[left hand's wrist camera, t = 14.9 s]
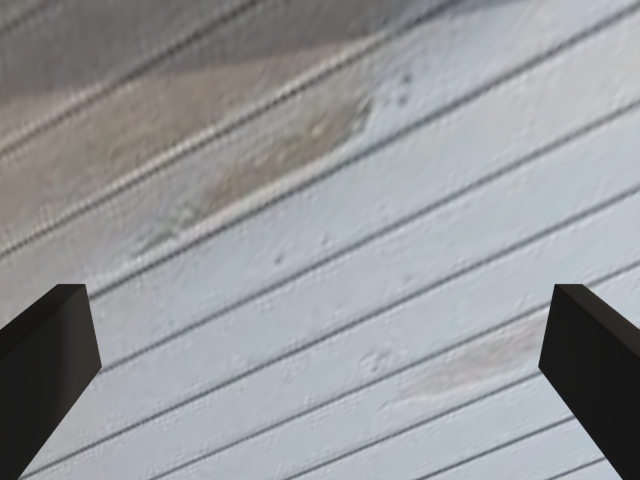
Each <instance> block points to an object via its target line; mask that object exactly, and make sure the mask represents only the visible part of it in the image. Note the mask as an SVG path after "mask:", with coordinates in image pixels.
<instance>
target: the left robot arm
mask: <svg viewBox="0 0 640 480" xmlns="http://www.w3.org/2000/svg"><path fill="white" fill-rule="evenodd" d="M101 367H102V365H101V360H100V355H99V350H98V345H97V340H96V335H95V330H94V325H93V320H92V315H91V310H90V305H89V300H88V295H87V290H86V286H85V284H57V285H56V286H55V287H53V288H52V289H51V290H50V291H48V292H47V293H46V294H45V295H43V296H42V297H41V298H40V299H38V300H37V301H36V302H35V303H33V304H32V305H31V306H30V307H28V308H27V309H26V310H25V311H23V312H22V313H21V314H19V315H18V316H17V317H16V318H14V319H13V320H12V321H11V322H9V323H8V324H7V325H6V326H4V327H3V328H2V329H1V330H0V480H18V478H19V477H20V476H21V474H22V473H23V472H24V470H25V469H26V468H27V466H28V465H29V464H30V462H31V461H32V460H33V458H34V457H35V456H36V454H37V453H38V452H39V450H40V449H41V448H42V446H43V445H44V444H45V442H46V441H47V440H48V438H49V437H50V436H51V434H52V433H53V431H54V430H55V429H56V427H57V426H58V425H59V423H60V422H61V421H62V419H63V418H64V417H65V415H66V414H67V413H68V411H69V410H70V409H71V407H72V406H73V405H74V403H75V402H76V401H77V399H78V398H79V397H80V395H81V394H82V393H83V391H84V390H85V389H86V387H87V386H88V385H89V383H90V382H91V381H92V379H93V378H94V377H95V375H96V374H97V373H98V371H99V370H100V369H101ZM538 367H539V369H540V370H541V371H542V373H543V374H544V375H545V377H546V378H547V379H548V381H549V382H550V383H551V385H552V386H553V387H554V389H555V390H556V391H557V393H558V394H559V395H560V397H561V398H562V399H563V401H564V402H565V403H566V405H567V406H568V407H569V409H570V410H571V411H572V413H573V414H574V415H575V417H576V418H577V419H578V421H579V422H580V423H581V425H582V426H583V427H584V429H585V430H586V431H587V433H588V434H589V436H590V437H591V438H592V440H593V441H594V442H595V444H596V445H597V446H598V448H599V449H600V450H601V452H602V453H603V454H604V456H605V457H606V458H607V460H608V461H609V462H610V464H611V465H612V466H613V468H614V469H615V470H616V472H617V473H618V474H619V476H620V477H621V478H622V480H640V330H639V329H638V328H637V327H636V326H634V325H633V324H632V323H631V322H629V321H628V320H627V319H626V318H624V317H623V316H622V315H621V314H619V313H618V312H617V311H615V310H614V309H613V308H612V307H610V306H609V305H608V304H607V303H605V302H604V301H603V300H602V299H600V298H599V297H598V296H597V295H595V294H594V293H593V292H592V291H590V290H589V289H588V288H587V287H585V286H584V285H583V284H555V285H554V290H553V295H552V300H551V305H550V310H549V315H548V320H547V325H546V330H545V335H544V340H543V345H542V350H541V355H540V360H539V365H538Z"/></svg>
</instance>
